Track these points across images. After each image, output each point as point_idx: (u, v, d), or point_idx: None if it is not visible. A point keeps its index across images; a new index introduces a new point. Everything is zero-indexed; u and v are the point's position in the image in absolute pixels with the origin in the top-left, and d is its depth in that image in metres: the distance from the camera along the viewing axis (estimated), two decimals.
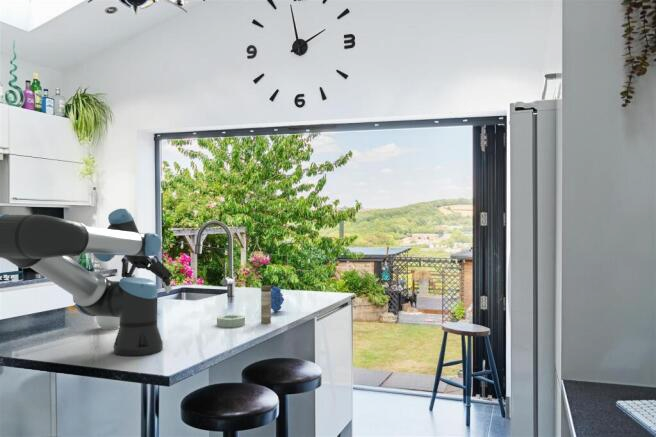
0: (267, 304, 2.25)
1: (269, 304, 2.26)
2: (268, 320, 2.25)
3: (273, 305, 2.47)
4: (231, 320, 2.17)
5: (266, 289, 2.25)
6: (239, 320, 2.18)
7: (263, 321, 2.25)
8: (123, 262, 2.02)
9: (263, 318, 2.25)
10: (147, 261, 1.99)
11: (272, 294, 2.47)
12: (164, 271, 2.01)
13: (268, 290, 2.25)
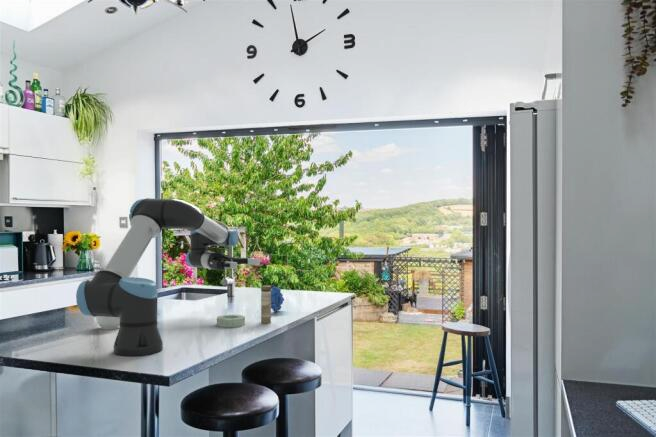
0: (267, 304, 2.25)
1: (269, 304, 2.26)
2: (268, 320, 2.25)
3: (273, 305, 2.47)
4: (231, 320, 2.17)
5: (266, 289, 2.25)
6: (239, 320, 2.18)
7: (263, 321, 2.25)
8: (212, 260, 2.35)
9: (263, 318, 2.25)
10: None
11: (272, 294, 2.47)
12: None
13: (268, 290, 2.25)
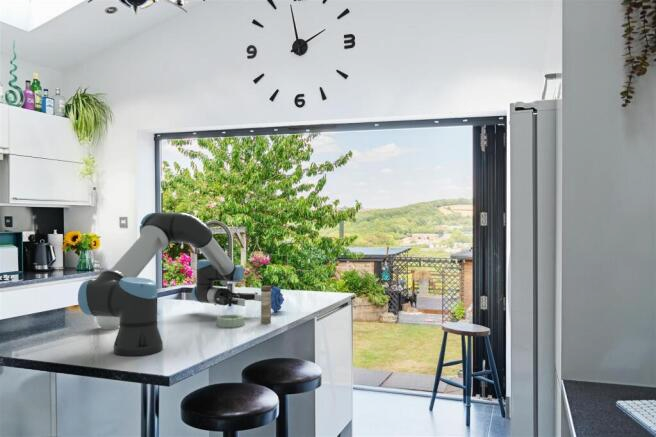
0: (267, 304, 2.25)
1: (269, 304, 2.26)
2: (268, 320, 2.25)
3: (273, 305, 2.47)
4: (231, 320, 2.17)
5: (266, 289, 2.25)
6: (239, 320, 2.18)
7: (263, 321, 2.25)
8: (219, 296, 2.34)
9: (263, 318, 2.25)
10: None
11: (272, 294, 2.47)
12: None
13: (268, 290, 2.25)
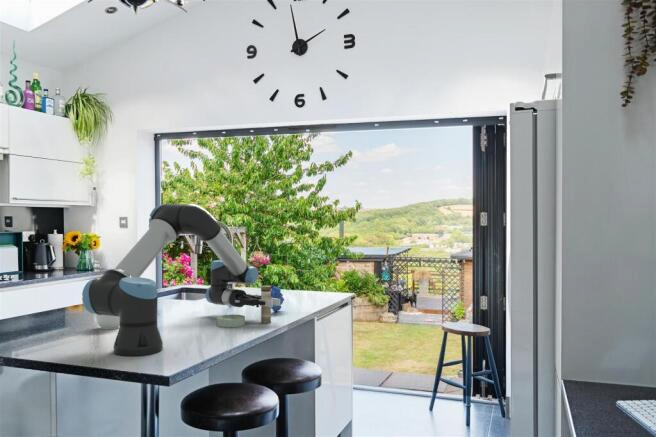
0: None
1: None
2: (268, 320, 2.25)
3: (273, 305, 2.47)
4: (231, 320, 2.17)
5: (266, 289, 2.25)
6: (239, 320, 2.18)
7: (263, 321, 2.25)
8: (238, 298, 2.28)
9: (263, 318, 2.25)
10: None
11: (272, 294, 2.47)
12: None
13: (268, 290, 2.25)
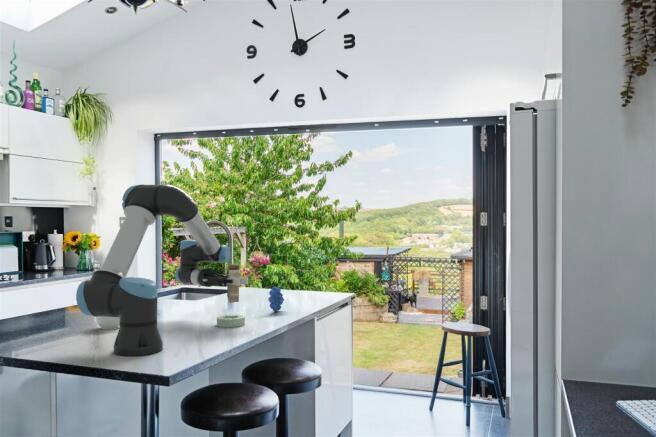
0: None
1: None
2: (236, 299, 2.21)
3: (273, 305, 2.47)
4: (231, 320, 2.17)
5: (234, 267, 2.20)
6: (239, 320, 2.18)
7: (231, 300, 2.21)
8: (206, 277, 2.24)
9: (231, 297, 2.21)
10: None
11: (272, 294, 2.47)
12: None
13: (236, 268, 2.21)
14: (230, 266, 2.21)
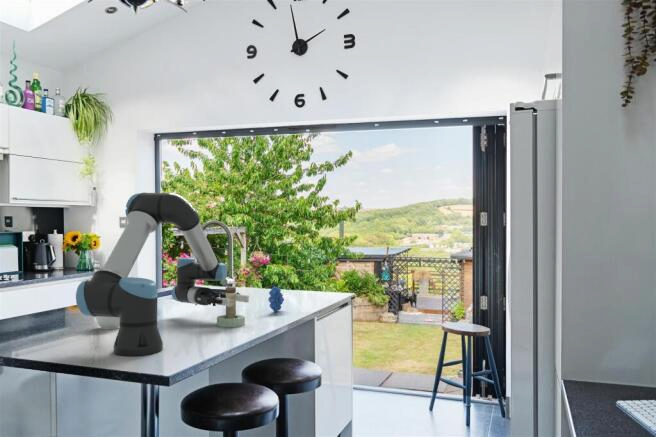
0: (231, 305, 2.20)
1: (234, 306, 2.21)
2: None
3: (273, 305, 2.47)
4: (231, 320, 2.17)
5: (230, 290, 2.20)
6: (239, 320, 2.18)
7: None
8: (200, 296, 2.24)
9: None
10: None
11: (272, 294, 2.47)
12: None
13: (232, 291, 2.20)
14: (227, 289, 2.20)
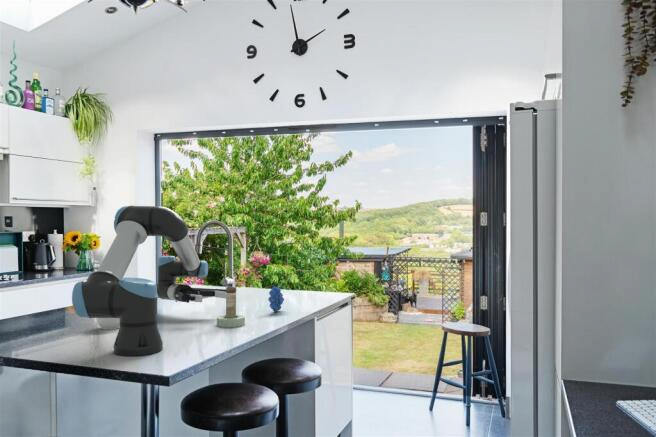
0: (232, 305, 2.20)
1: (234, 306, 2.21)
2: None
3: (273, 305, 2.47)
4: (231, 320, 2.17)
5: (231, 290, 2.20)
6: (239, 320, 2.18)
7: None
8: (178, 292, 2.31)
9: None
10: None
11: (272, 294, 2.47)
12: None
13: (233, 291, 2.21)
14: (227, 289, 2.21)
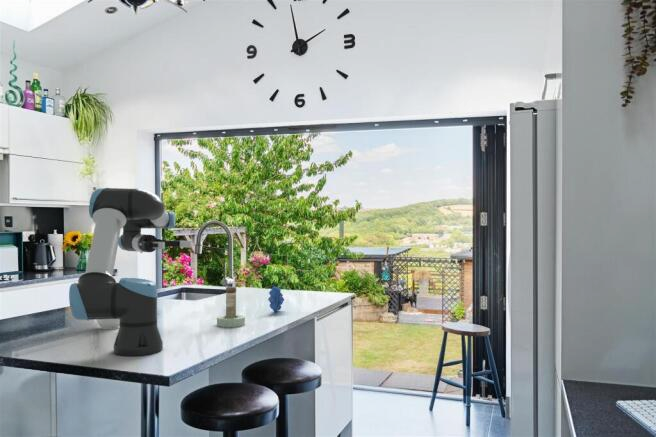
0: (232, 305, 2.20)
1: (234, 306, 2.21)
2: None
3: (273, 305, 2.47)
4: (231, 320, 2.17)
5: (231, 290, 2.20)
6: (239, 320, 2.18)
7: None
8: (142, 241, 2.27)
9: None
10: None
11: (272, 294, 2.47)
12: None
13: (233, 291, 2.21)
14: (227, 289, 2.21)
